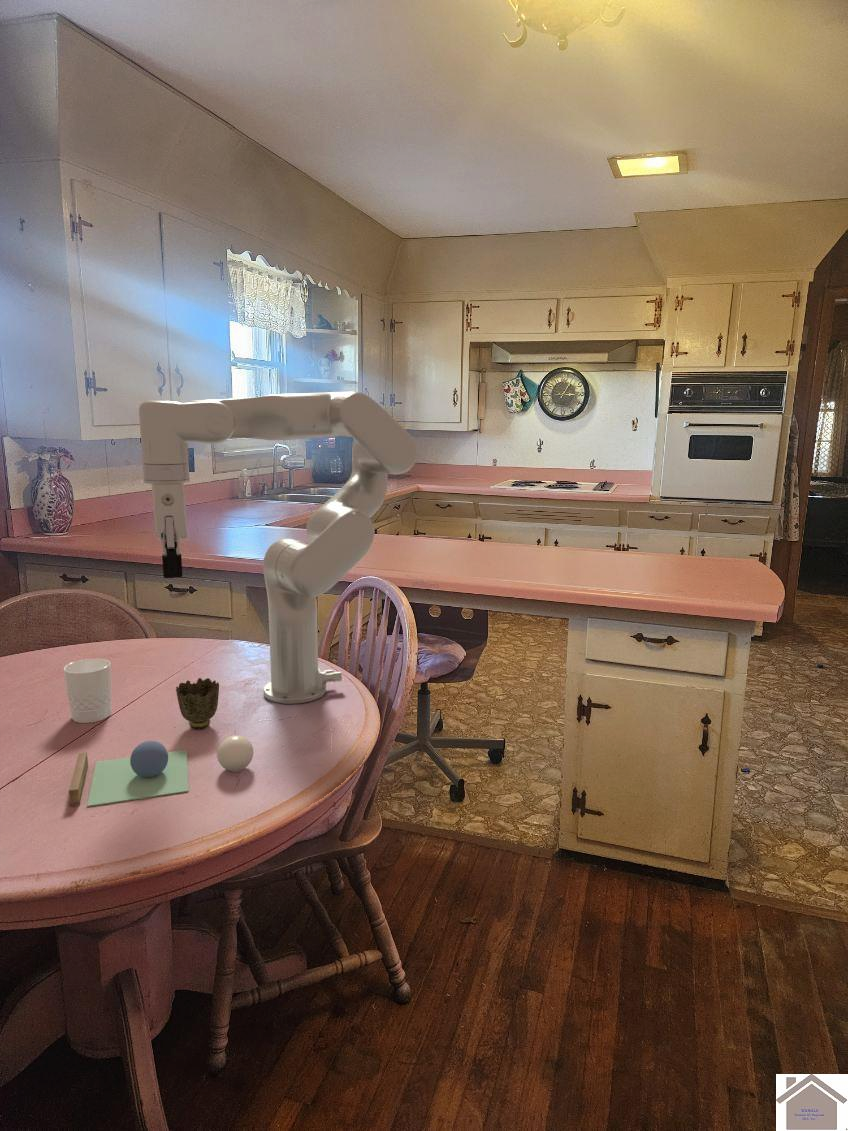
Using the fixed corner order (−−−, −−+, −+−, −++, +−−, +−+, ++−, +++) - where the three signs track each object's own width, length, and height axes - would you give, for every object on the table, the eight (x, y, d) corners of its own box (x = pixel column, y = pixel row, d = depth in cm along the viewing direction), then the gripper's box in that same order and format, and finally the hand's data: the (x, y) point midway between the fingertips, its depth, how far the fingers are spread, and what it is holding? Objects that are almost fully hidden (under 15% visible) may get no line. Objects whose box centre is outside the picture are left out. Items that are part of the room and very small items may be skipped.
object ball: (135, 732, 114) (127, 765, 115) (134, 748, 109) (125, 782, 110) (171, 737, 117) (163, 769, 117) (172, 752, 111) (163, 786, 112)
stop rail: (88, 766, 116) (86, 752, 116) (79, 804, 105) (78, 789, 105) (80, 767, 116) (78, 753, 115) (70, 806, 105) (68, 790, 104)
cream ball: (215, 731, 114) (209, 756, 117) (227, 757, 111) (221, 782, 113) (249, 725, 118) (242, 749, 120) (261, 750, 114) (254, 774, 117)
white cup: (97, 726, 131) (92, 674, 129) (58, 722, 132) (53, 671, 130) (123, 709, 138) (119, 660, 136) (86, 705, 140) (82, 656, 138)
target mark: (186, 750, 122) (186, 749, 122) (188, 791, 109) (188, 790, 109) (96, 762, 118) (96, 761, 118) (87, 807, 105) (87, 805, 105)
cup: (182, 739, 126) (179, 696, 125) (175, 722, 133) (172, 681, 131) (225, 730, 130) (223, 689, 128) (216, 715, 136) (214, 675, 134)
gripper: (190, 477, 119) (196, 585, 123) (188, 469, 133) (193, 566, 137) (141, 478, 117) (149, 588, 121) (144, 470, 131) (151, 569, 135)
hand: (173, 576), depth 129 cm, fingers closed
